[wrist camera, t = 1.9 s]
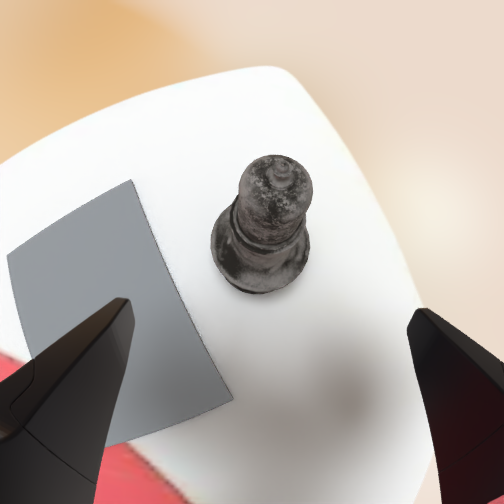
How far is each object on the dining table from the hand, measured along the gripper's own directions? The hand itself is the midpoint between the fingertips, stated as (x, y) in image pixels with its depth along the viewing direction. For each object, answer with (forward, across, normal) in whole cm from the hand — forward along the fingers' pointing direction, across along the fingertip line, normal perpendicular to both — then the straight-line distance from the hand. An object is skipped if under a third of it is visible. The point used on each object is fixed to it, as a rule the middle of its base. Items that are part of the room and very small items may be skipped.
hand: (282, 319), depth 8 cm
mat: (+7, +12, +9) cm, 16 cm away
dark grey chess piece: (+12, 0, +5) cm, 13 cm away
